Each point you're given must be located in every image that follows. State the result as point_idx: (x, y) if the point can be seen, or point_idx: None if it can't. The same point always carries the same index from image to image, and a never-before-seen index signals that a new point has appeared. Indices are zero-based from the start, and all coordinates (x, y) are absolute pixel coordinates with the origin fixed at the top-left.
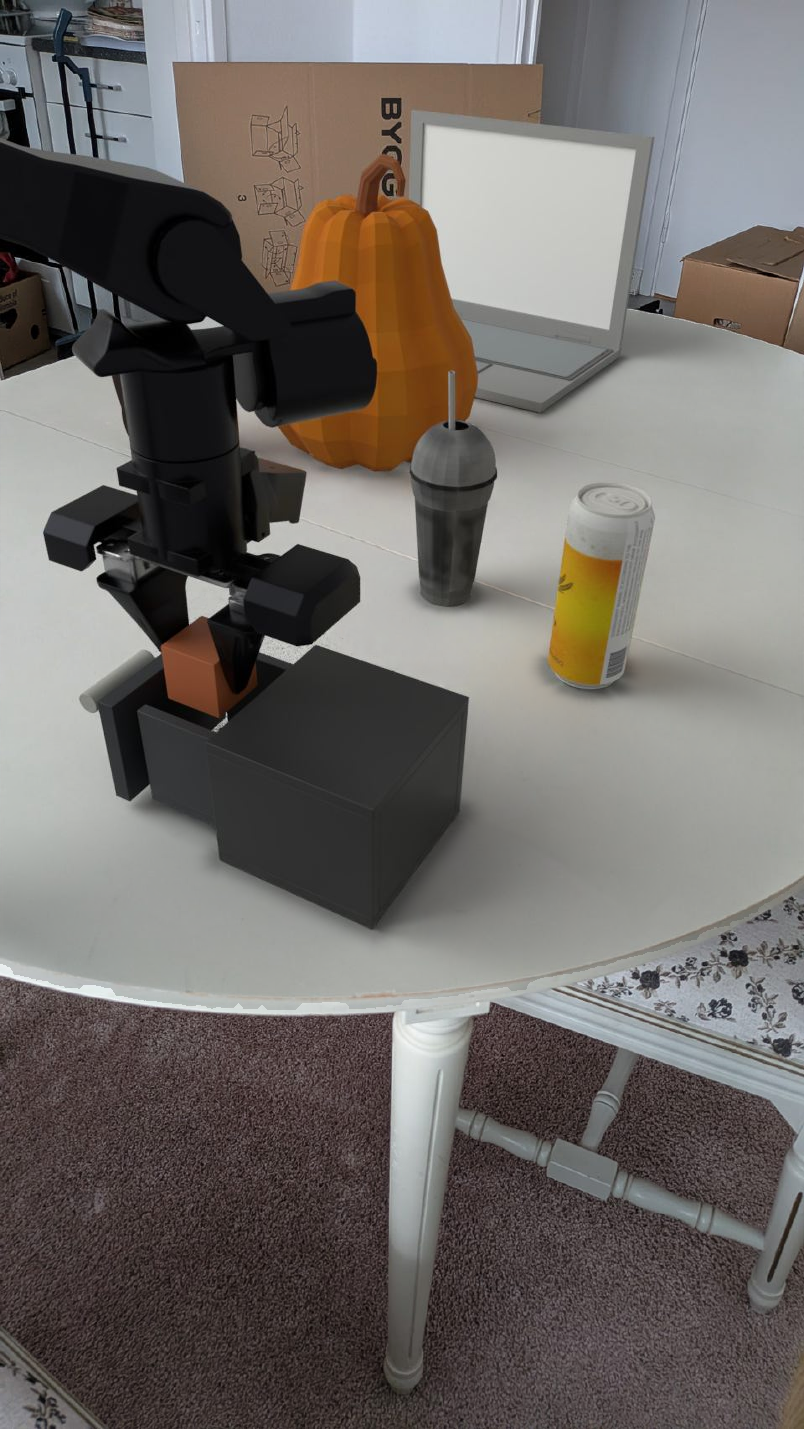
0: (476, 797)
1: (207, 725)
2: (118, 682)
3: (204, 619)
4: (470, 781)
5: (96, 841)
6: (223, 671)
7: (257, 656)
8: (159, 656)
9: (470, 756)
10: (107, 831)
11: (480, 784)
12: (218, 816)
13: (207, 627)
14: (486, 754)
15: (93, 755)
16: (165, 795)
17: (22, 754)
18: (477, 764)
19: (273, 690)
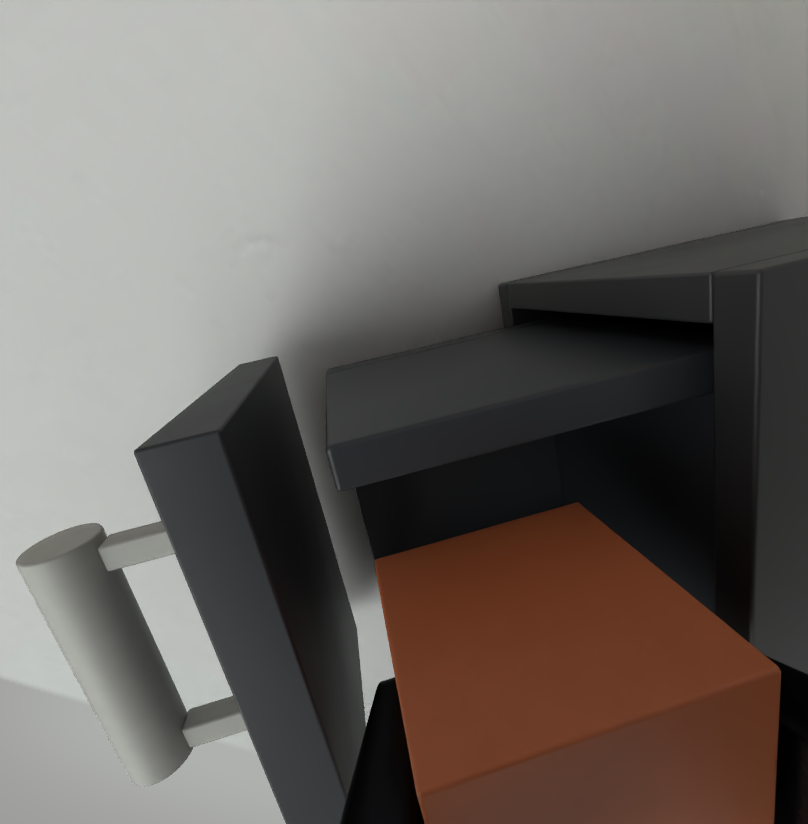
0: (793, 162)
1: (294, 426)
2: (147, 687)
3: (465, 799)
4: (767, 127)
5: (369, 674)
6: None
7: (802, 673)
8: (246, 707)
9: (738, 51)
10: (362, 655)
11: (786, 121)
12: None
13: (540, 818)
14: (763, 18)
15: (165, 590)
16: None
17: (67, 678)
18: (760, 66)
19: (781, 598)
